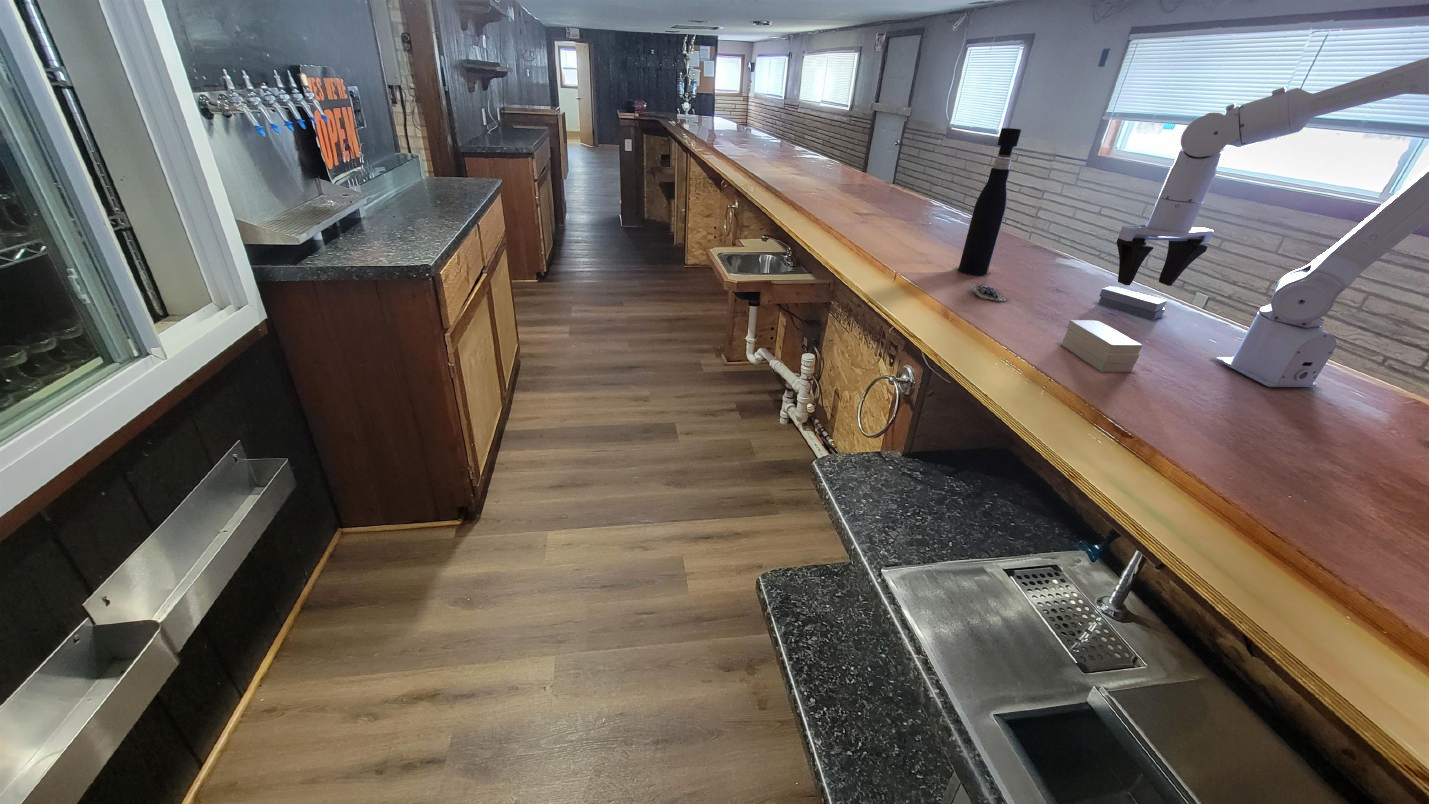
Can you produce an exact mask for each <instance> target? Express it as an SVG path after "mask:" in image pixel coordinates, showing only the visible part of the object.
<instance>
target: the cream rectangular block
mask: <svg viewBox="0 0 1429 804" xmlns="http://www.w3.org/2000/svg"><path fill="white" fill-rule="evenodd" d="M1060 345H1061V346H1062V347H1064V348H1065V349H1066V350H1068V351H1070V352H1071V353H1073V354H1074V355H1076V356H1077V357H1078V358H1079V359H1081V360H1083V361H1084V362H1086V363H1088V364H1090V365H1091V366H1092V367H1093V368H1095V369H1097V371H1100V372H1132V371H1133V369H1134V367H1135V365H1136V363H1137V361H1138V359H1139V357H1140V353H1107V352H1105V351H1104V350H1102V349H1101V348H1099V347H1097V346H1096V345H1094V344H1092V343H1091V342H1089V341H1088V340H1086V339H1084V338H1083V337H1081V336H1079V335H1078V334H1076V333H1075V332H1073V331H1071V330H1070V329H1068V328H1066V332H1065V334H1064V337H1063V339H1062V341H1061V344H1060Z"/></svg>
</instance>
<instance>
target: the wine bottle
mask: <svg viewBox="0 0 1429 804" xmlns="http://www.w3.org/2000/svg"><path fill="white" fill-rule="evenodd" d="M1022 131H1023V130H1022V128H1013V127H1012V128H1011V127H1002V128H1001V129H1000V133H999V137H998V140H997V146H1000V147H999V150H998V153H997V157H998V158H995V160H993V162H994V164H993V165H992V166H993V167H991V168H990V171H989V176H988V179H987V181H986V183H985V184H984V186H983V189H982V190H981V192H980V193H979V195H978V198H977V199H976V202H975V204H974V208H973V210H972V211H973V212H972V215H971V219H970V223H969V226H968V230H967V234H966V238H965V241H964V246H963V250H962V254H961V257H960V262H959V265H958V270H959V271H960V272H962V273H964V274H967V275H973V276H985V275H988V273H989V270H990V266H991V264H992V260H993V256H994V253H995V249H996V246H997V242H998V239H999V236H1000V231H1001V228H1002V225H1003V222H1004V218H1005V215H1006V211H1007V205H1008V185H1007V183H1008V180H1009V177H1010V172H1011V169H1010V167H1011V164H1012V160H1011V159H1009V158H1011V157H1012V153H1013V150H1014V148H1017V147H1018V145H1019V142H1020V139H1021V134H1022Z"/></svg>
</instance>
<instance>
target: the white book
mask: <svg viewBox="0 0 1429 804" xmlns="http://www.w3.org/2000/svg"><path fill="white" fill-rule="evenodd" d="M1066 329H1070V330H1071V331H1073V332H1075V333H1076V334H1078V335H1079V336H1081V337H1083V338H1084V339H1086V340H1088V341H1089V342H1091V343H1092V344H1094V345H1096V346H1097V347H1099V348H1101V349H1102V350H1104V351H1105V352H1107V353H1138V354H1140V352H1141V350H1142V347H1143V344H1141V343H1140V342H1138V341H1136V340H1134V339H1132V338H1130V337H1129V336H1127V335H1125V334H1123V333H1122V332H1120V331H1118V330H1117V329H1114V328H1113V327H1111V326H1109V325H1107V324H1105V323H1104V322H1102V321H1100V320H1098V319H1097V320H1095V319H1094V320H1093V319H1091V320H1089V319H1087V320H1086V319H1085V320H1083V319H1078V320H1077V319H1070V320H1069V321H1068V325H1067V327H1066Z"/></svg>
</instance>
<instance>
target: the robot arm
mask: <svg viewBox="0 0 1429 804" xmlns="http://www.w3.org/2000/svg"><path fill="white" fill-rule="evenodd" d="M1401 95H1414V96H1427V97H1429V57H1425V58H1420V59H1418V60H1415V61H1412V62H1409V63H1406V64H1402V65H1399V66H1396V67H1393V68H1389V69H1386V70H1383V71H1381V72H1380V71H1379V72H1377V73H1374V74H1371V75H1368V76H1365V77H1361V78H1358V79H1355V80H1351V81H1349V82H1345V83H1343V84H1339V85H1336V86H1333V87H1330V88H1327V89H1323V90H1320V91H1316V92H1314V93H1311V92H1309V91H1307V90H1304V89H1302V88H1300V87H1295V88H1292V89H1289V90H1287V88H1286V87H1280V88H1276V89H1273V90H1272V91H1271V95H1268V96H1266V97H1263V98H1259V99H1256V100H1252V101H1249V102H1246V103H1243V104H1240V105H1237V106H1236V103H1232V104H1229V105H1226V106H1225V107H1224V111H1225V112H1224V113H1220V112H1208V113H1206V114H1205V115H1202V116H1199V117H1197V118H1196V119H1194V120H1193V121H1192V122H1190V123H1189V124H1188V125H1187V126H1186V127H1185V129H1184V130H1183V132H1182V134H1181V137H1180V145H1181V149H1179V151H1178V152H1177V154H1176V155H1175V158H1174V163H1173V165H1172V166H1170V169H1169V171H1168V173H1167V175H1166V178H1165V180H1164V183H1163V185H1162V188H1161V191H1160V193H1159V195H1158V198H1157V200H1156V203H1155V205H1154V207H1153V210H1152V213H1151V215H1150V217H1149V219H1148V222H1144V224H1137V225H1122V226H1121V229H1120V231H1119V235H1118V237H1117V239H1116V247H1117V250H1118V261H1119V262H1118V263H1119V264H1118V276H1117V283H1119V284H1121V285H1123V286H1131V284H1132V283H1133V281H1134V280H1135V278H1136V275H1137V274H1138V271H1139V269H1140V267H1141V265H1142V264H1143V262H1144V261H1145V260H1146V258H1147V257H1148V256H1149V254H1150V253H1151V252H1152V251H1153V250H1154V246H1152V245H1148V244H1147V241H1165V242H1167V241H1168V246H1167V247H1168V248H1167V252H1166V253H1167V254H1166V258H1165V262H1164V263H1163V266H1162V269H1161V272H1160V275H1159V278H1158V283H1160V284H1163V285H1164V286H1167V287H1172V286H1173V285H1174V283H1175V282H1176V281H1177V280H1178V278H1179V277H1180V276H1181V274H1182V273H1183V272H1184V271H1185V270H1187V268H1188V267H1189V266H1190V265H1191V264H1192V263H1193V262H1194V261H1195V260H1197V258H1199V257H1200V256H1201V255H1203V254H1204V253H1206V252H1207V250H1208V248H1209V245H1208V244H1205V243H1209V242H1210V241H1211V238H1212V236H1213V234H1214V231H1215V230H1213V229H1211V228H1206V227H1197V226H1195V227H1194V223H1195V222H1196V219H1197V217H1198V215H1199V213H1200V210H1201V208H1202V206H1203V204H1204V201H1205V199H1206V197H1207V195H1208V192H1209V190H1210V188H1211V186H1212V184H1213V182H1214V180H1215V177H1216V175H1217V173H1218V169H1217V168H1218V167H1219V164H1220V161H1221V159H1222V158H1223V154H1224V151H1225V150H1226V149H1228V148H1229V147H1230V146H1233V147H1235V148H1237V149H1238V148H1243V147H1246V146H1247V147H1248V146H1250V145H1254V144H1257V143H1262V142H1265V141H1269V140H1273V139H1276V138H1281V137H1284V136H1288V135H1292V134H1296V133H1299V132H1301V131H1302V130H1303V129H1304V128H1305V127H1306V126H1307V124H1309V122H1310V121H1312V120H1313V119H1314V118H1316V117H1319V116H1323V115H1328V114H1332V113H1335V112H1336V113H1337V112H1339V111H1343V110H1346V109H1351V108H1355V107H1359V106H1363V105H1366V104H1367V105H1368V104H1370V103H1374V102H1378V101H1382V100H1386V99H1390V98H1395V97H1398V96H1401ZM1428 221H1429V165H1428V166H1427V167H1426V168H1424V169H1423V170H1422V171H1421V172H1420V173H1418V175H1416V176H1414V178H1413V179H1412V180H1410V181H1409V182H1408V183H1406V185H1404V186H1403V187H1402V188H1400V190H1398V191H1397V192H1395V194H1394V195H1392V196H1391V197H1390V198H1389V199H1388V200H1386V201H1385V202H1384V203H1383V204H1381V205H1380V206H1379V207H1378V208H1376V210H1374V211H1373V212H1372V213H1371V214H1370V215H1368V216H1367V217H1366V218H1364V220H1363V221H1361V222H1360V223H1359V224H1358V225H1357V226H1355V227H1354V228H1353V229H1352V230H1350V231H1349V232H1348V233H1347V234H1346V235H1344V237H1342V238H1341V239H1340V240H1339V241H1337V242H1336V243H1335V244H1334V245H1332V246H1331V247H1330V248H1329V249H1327V250H1326V251H1325V252H1323V253H1322V254H1320V255H1318V256H1317V257H1316V258H1315V259H1313V260H1312V261H1311V262H1309V263H1308V264H1307V265H1305V266H1303V267H1301V268H1297V269H1295V270H1292V271H1290V272H1288V273H1286V274H1285V275H1283V276H1282V277H1281V278H1280V279H1279V280H1278V281H1277V283H1276V285H1275V287H1274V291H1273V292H1274V293H1273V295H1272V296H1271V299H1270V304H1267V305H1265V306H1261V307H1260V308H1259V309H1258V312H1257V314H1256V315H1255V318H1254V319H1253V321H1252V323H1251V325H1250V326H1249V328H1248V330H1247V332H1246V333H1245V336H1244V337H1243V339H1242V341H1241V342H1240V344H1239V346H1238V348H1237V350H1236V352H1235V354H1234V356H1232V357H1231V356H1230V357H1229V356H1228V357H1227V356H1223V357H1222V356H1221V357H1220V356H1219V357H1216V358H1215V361H1217V362H1218V363H1221V364H1222V365H1225V366H1226V367H1229V368H1231V369H1232V370H1234V371H1236V372H1238V373H1241V374H1242V375H1244V376H1246V377H1247V378H1250V379H1252V380H1254V381H1255V382H1257V383H1260V384H1262V385H1264V386H1266V387H1269V388H1315V387H1317V383H1316V380H1317V378H1318V377H1319V376H1320V373H1321V372H1322V370H1323V369H1324V367H1325V366H1326V364H1327V362H1328V361H1329V359H1330V358H1331V357H1332V355H1333V353H1334V352H1335V349H1336V346H1337V339H1336V337H1335V336H1334V335H1333V334H1331V333H1329V332H1328V331H1326V330H1325V329H1324V327H1323V325H1324V324H1325V319H1324V318H1323V317H1324V316H1326V315H1327V314H1328V313H1329V312H1330V311H1331V310H1332V309H1333V307H1334V305H1335V303H1336V300H1337V298H1338V297H1339V296H1340V295H1341V294H1342V293H1343V292H1344V291H1345V290H1347V289H1348V288H1349V287H1351V285H1352V284H1353V283H1354V282H1355V281H1356V280H1357V279H1358V278H1359V277H1360V276H1361V274H1362V273H1364V272H1365V270H1367V269H1368V268H1370V266H1372V265H1373V264H1375V263H1376V262H1377V261H1379V259H1381V258H1382V257H1383V256H1384V255H1386V254H1387V253H1388V252H1390V251H1391V250H1392V249H1394V248H1395V247H1396V246H1397V245H1399V244H1400V243H1401V242H1402V241H1404V240H1405V239H1407V237H1409V236H1410V235H1411V234H1413V233H1415V231H1416V230H1418V229H1419V228H1420V227H1422V226H1423V225H1424V224H1426V223H1427V222H1428Z"/></svg>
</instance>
